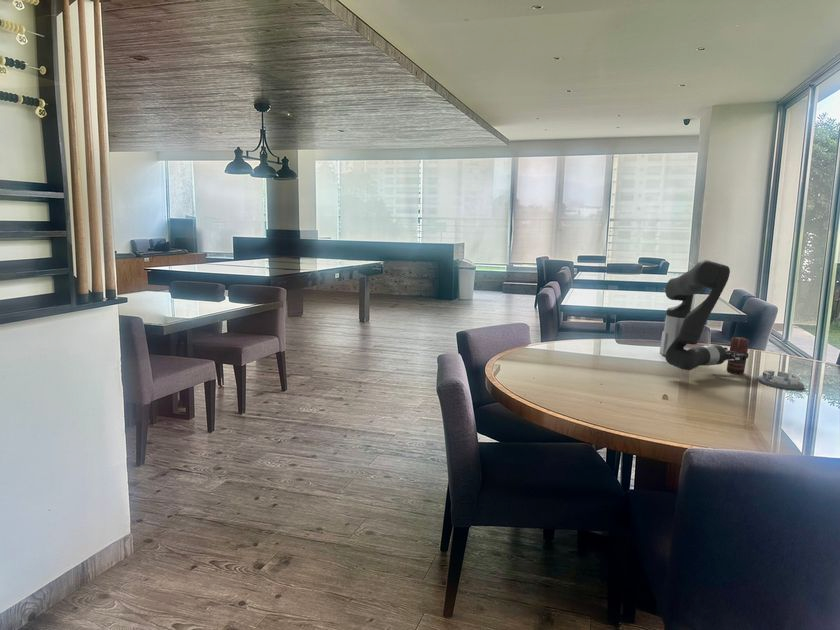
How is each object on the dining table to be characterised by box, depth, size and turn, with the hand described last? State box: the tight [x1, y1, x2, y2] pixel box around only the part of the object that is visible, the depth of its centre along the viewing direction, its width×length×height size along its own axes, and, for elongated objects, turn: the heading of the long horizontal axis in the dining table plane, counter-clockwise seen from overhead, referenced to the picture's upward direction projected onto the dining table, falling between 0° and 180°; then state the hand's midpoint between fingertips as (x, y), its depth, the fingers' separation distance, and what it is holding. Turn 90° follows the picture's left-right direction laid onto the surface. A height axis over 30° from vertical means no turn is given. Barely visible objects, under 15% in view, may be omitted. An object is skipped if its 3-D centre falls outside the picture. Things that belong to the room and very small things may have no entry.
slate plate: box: [756, 374, 805, 391], centre depth 213 cm, size 15×15×1 cm
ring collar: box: [762, 369, 801, 386], centre depth 213 cm, size 11×11×2 cm
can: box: [726, 336, 750, 375], centre depth 225 cm, size 6×6×14 cm
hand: (736, 352), depth 224 cm, fingers open, 8 cm apart
